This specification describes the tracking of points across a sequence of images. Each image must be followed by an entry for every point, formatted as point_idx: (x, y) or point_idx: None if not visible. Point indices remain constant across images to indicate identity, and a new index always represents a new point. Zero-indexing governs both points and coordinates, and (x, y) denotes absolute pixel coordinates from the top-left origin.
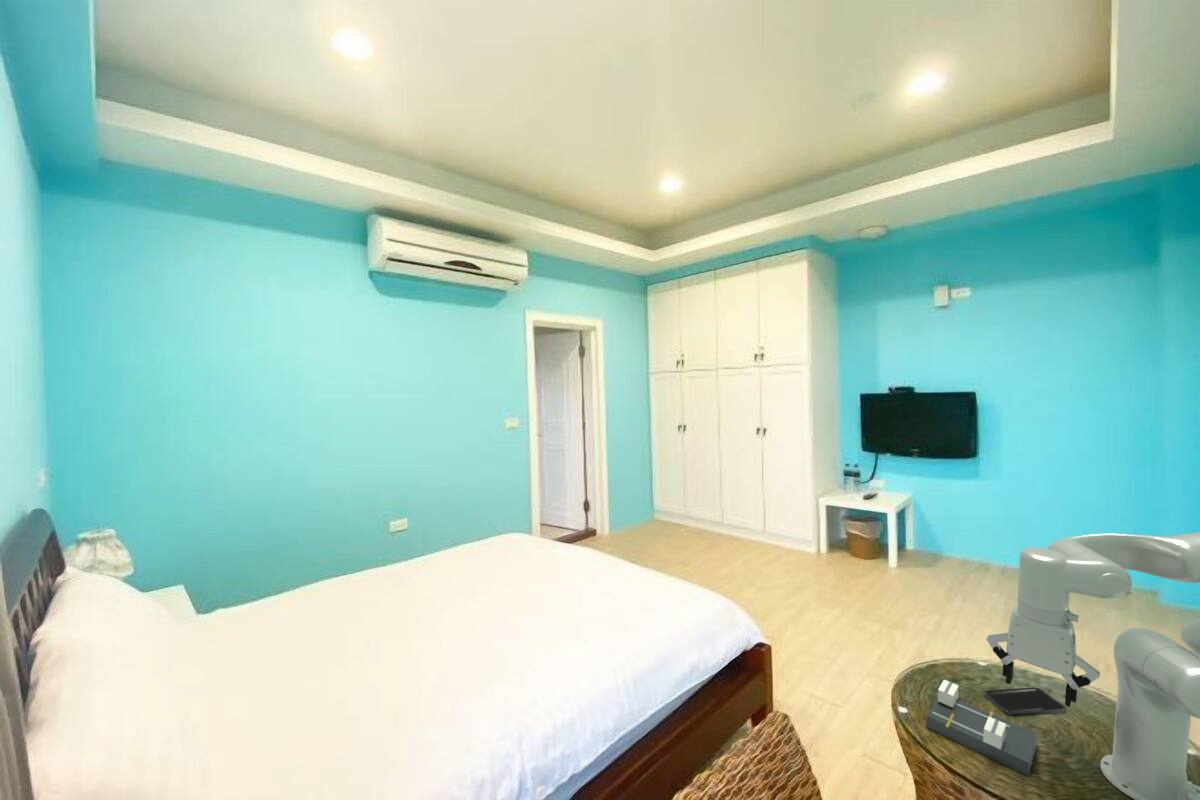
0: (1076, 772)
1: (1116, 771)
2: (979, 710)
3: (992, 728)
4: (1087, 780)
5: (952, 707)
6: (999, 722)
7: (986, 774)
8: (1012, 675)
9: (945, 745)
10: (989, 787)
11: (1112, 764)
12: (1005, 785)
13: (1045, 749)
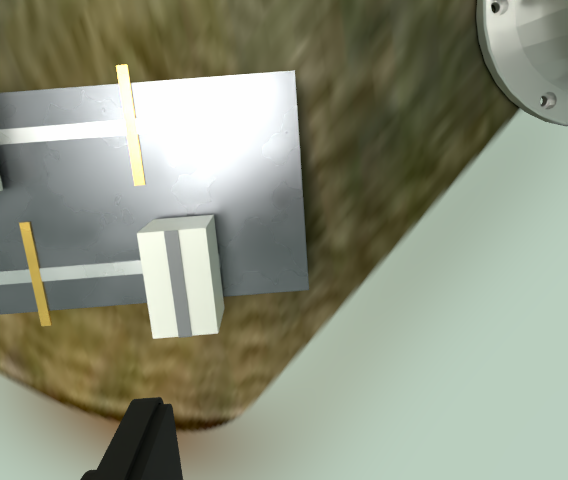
0: (413, 123)
1: (535, 54)
2: (82, 100)
3: (176, 311)
4: (443, 138)
5: (2, 190)
6: (182, 242)
7: (215, 362)
8: (165, 457)
9: (82, 333)
10: (237, 407)
11: (526, 22)
12: (266, 364)
13: (318, 71)
